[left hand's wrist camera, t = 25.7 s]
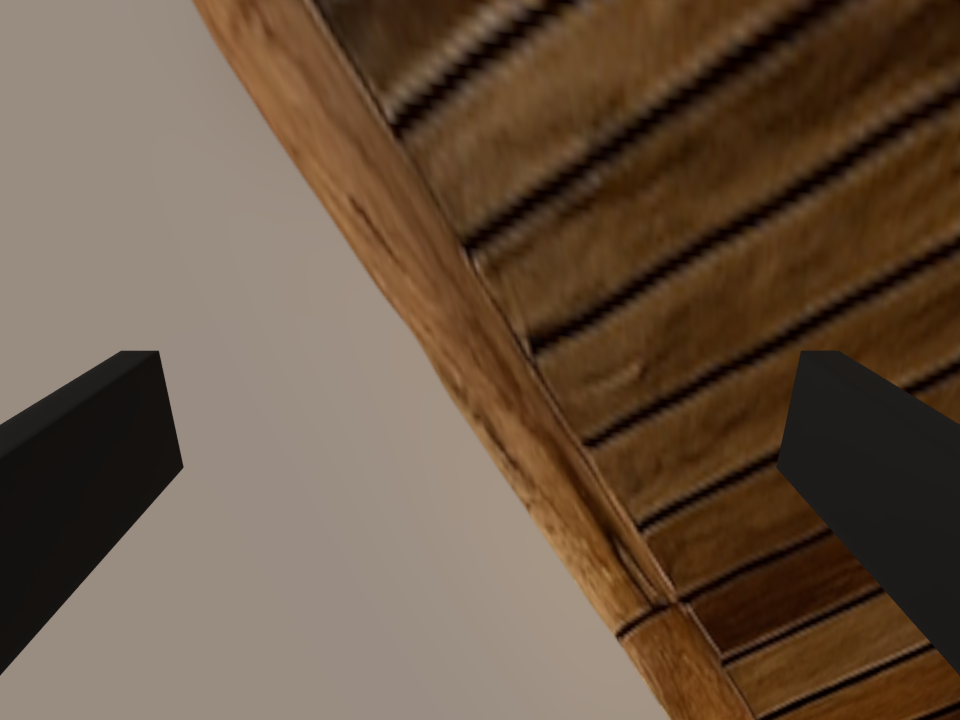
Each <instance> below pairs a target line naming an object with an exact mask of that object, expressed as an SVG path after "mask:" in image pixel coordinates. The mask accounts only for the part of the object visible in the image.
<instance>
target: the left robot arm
mask: <svg viewBox="0 0 960 720" xmlns="http://www.w3.org/2000/svg"><path fill="white" fill-rule="evenodd" d="M776 468H777V469H778V470H779V471H780V472H781V473H782V474H783V476H784V477H785V478H786V479H787V480H788V481H789V482H790V483H791V485H792V486H793V487H794V488H795V489H796V490H797V491H798V493H799V494H800V495H801V496H802V497H803V498H804V499H805V500H806V502H807V503H808V504H809V505H810V506H811V507H812V508H813V510H814V511H815V512H816V513H817V514H818V515H819V516H820V517H821V519H822V520H823V521H824V522H825V523H826V524H827V525H828V527H829V528H830V529H831V530H832V531H833V532H834V533H835V534H836V536H837V537H838V538H839V539H840V540H841V541H842V542H843V544H844V545H845V546H846V547H847V548H848V549H849V550H850V552H851V553H852V554H853V555H854V556H855V557H856V558H857V559H858V561H859V562H860V563H861V564H862V565H863V566H864V567H865V569H866V570H867V571H868V572H869V573H870V574H871V575H872V576H873V578H874V579H875V580H876V581H877V582H878V583H879V584H880V586H881V587H882V588H883V589H884V590H885V591H886V592H887V593H888V595H889V596H890V597H891V598H892V599H893V600H894V601H895V603H896V604H897V605H898V606H899V607H900V608H901V609H902V610H903V612H904V613H905V614H906V615H907V616H908V617H909V618H910V620H911V621H912V622H913V623H914V624H915V625H916V626H917V627H918V629H919V630H920V631H921V632H922V633H923V634H924V635H925V637H926V638H927V639H928V640H929V641H930V642H931V643H932V644H933V646H934V647H935V648H936V649H937V650H938V651H939V652H940V654H941V655H942V656H943V657H944V658H945V659H946V660H947V662H948V663H949V664H950V665H951V666H952V667H953V668H954V669H955V671H956V672H957V673H958V674H959V675H960V425H959V424H958V423H956V422H954V421H953V420H951V419H949V418H948V417H946V416H945V415H943V414H941V413H940V412H938V411H936V410H935V409H933V408H931V407H930V406H928V405H927V404H925V403H923V402H922V401H920V400H918V399H917V398H915V397H913V396H912V395H910V394H909V393H907V392H905V391H904V390H902V389H900V388H899V387H897V386H895V385H894V384H892V383H891V382H889V381H887V380H886V379H884V378H882V377H881V376H879V375H878V374H876V373H874V372H873V371H871V370H869V369H868V368H866V367H864V366H863V365H861V364H860V363H858V362H856V361H855V360H853V359H851V358H850V357H848V356H846V355H845V354H843V353H842V352H840V351H801V354H800V359H799V364H798V368H797V373H796V378H795V382H794V387H793V392H792V397H791V401H790V406H789V411H788V415H787V420H786V425H785V430H784V434H783V439H782V444H781V448H780V453H779V458H778V463H777V467H776ZM182 469H183V463H182V458H181V453H180V449H179V444H178V439H177V434H176V430H175V425H174V420H173V415H172V411H171V406H170V401H169V397H168V392H167V387H166V382H165V378H164V373H163V368H162V364H161V359H160V354H159V351H120V352H118V353H117V354H115V355H114V356H112V357H110V358H109V359H107V360H105V361H104V362H102V363H100V364H99V365H97V366H96V367H94V368H92V369H91V370H89V371H87V372H86V373H84V374H82V375H81V376H79V377H78V378H76V379H74V380H73V381H71V382H69V383H68V384H66V385H65V386H63V387H61V388H60V389H58V390H56V391H55V392H53V393H52V394H50V395H48V396H47V397H45V398H43V399H42V400H40V401H38V402H37V403H35V404H33V405H32V406H30V407H29V408H27V409H25V410H24V411H22V412H20V413H19V414H17V415H15V416H14V417H12V418H11V419H9V420H7V421H6V422H4V423H3V424H1V425H0V675H1V674H2V673H3V672H4V671H5V669H6V668H7V667H8V666H9V665H10V664H11V663H12V662H13V660H14V659H15V658H16V657H17V656H18V655H19V654H20V652H21V651H22V650H23V649H24V648H25V647H26V646H27V644H28V643H29V642H30V641H31V640H32V639H33V638H34V637H35V635H36V634H37V633H38V632H39V631H40V630H41V629H42V627H43V626H44V625H45V624H46V623H47V622H48V621H49V619H50V618H51V617H52V616H53V615H54V614H55V613H56V612H57V610H58V609H59V608H60V607H61V606H62V605H63V604H64V603H65V601H66V600H67V599H68V598H69V597H70V596H71V595H72V593H73V592H74V591H75V590H76V589H77V588H78V587H79V585H80V584H81V583H82V582H83V581H84V580H85V579H86V578H87V576H88V575H89V574H90V573H91V572H92V571H93V570H94V568H95V567H96V566H97V565H98V564H99V563H100V562H101V561H102V559H103V558H104V557H105V556H106V555H107V554H108V552H109V551H110V550H111V549H112V548H113V547H114V546H115V545H116V544H117V542H118V541H119V540H120V539H121V538H122V537H123V536H124V534H125V533H126V532H127V531H128V530H129V529H130V528H131V527H132V525H133V524H134V523H135V522H136V521H137V520H138V519H139V517H140V516H141V515H142V514H143V513H144V512H145V511H146V509H147V508H148V507H149V506H150V505H151V504H152V503H153V502H154V500H155V499H156V498H157V497H158V496H159V495H160V494H161V492H162V491H163V490H164V489H165V488H166V487H167V486H168V485H169V483H170V482H171V481H172V480H173V479H174V478H175V477H176V476H177V474H178V473H179V472H180V471H181V470H182Z"/></svg>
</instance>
